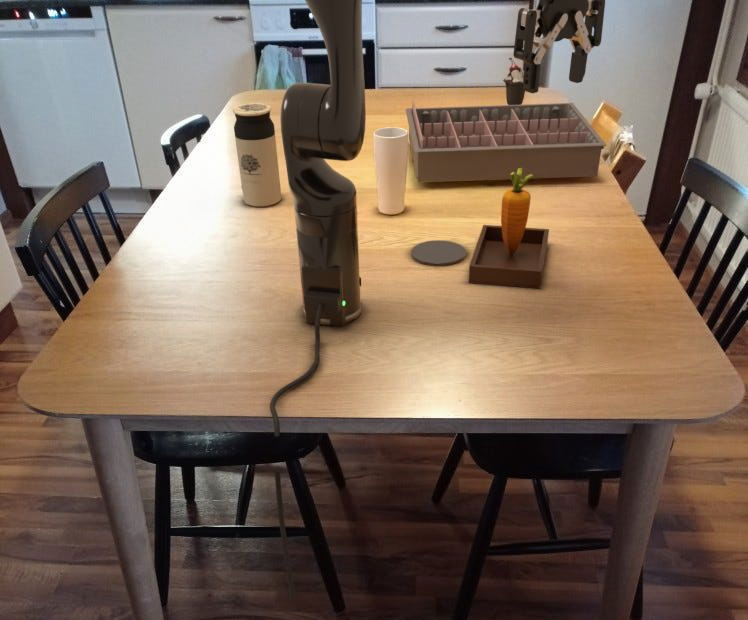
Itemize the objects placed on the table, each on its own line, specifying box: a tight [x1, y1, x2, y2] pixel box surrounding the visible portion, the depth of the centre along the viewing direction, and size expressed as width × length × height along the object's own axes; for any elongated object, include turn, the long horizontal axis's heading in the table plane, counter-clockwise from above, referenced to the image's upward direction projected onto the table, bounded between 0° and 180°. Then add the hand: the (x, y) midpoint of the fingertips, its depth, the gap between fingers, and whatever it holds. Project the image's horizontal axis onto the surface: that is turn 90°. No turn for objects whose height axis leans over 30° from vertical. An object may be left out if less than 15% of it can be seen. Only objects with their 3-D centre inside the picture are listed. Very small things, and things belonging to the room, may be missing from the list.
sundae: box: [502, 57, 526, 105], centre depth 196 cm, size 7×7×15 cm
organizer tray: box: [405, 100, 607, 183], centre depth 175 cm, size 32×40×10 cm
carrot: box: [500, 168, 533, 255], centre depth 134 cm, size 5×5×15 cm
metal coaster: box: [410, 240, 467, 267], centre depth 141 cm, size 10×10×1 cm
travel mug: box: [232, 102, 282, 208], centre depth 158 cm, size 8×8×18 cm
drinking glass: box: [372, 126, 409, 216], centre depth 153 cm, size 7×7×15 cm
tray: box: [468, 224, 550, 289], centre depth 137 cm, size 18×12×3 cm, turn 167°
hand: (553, 86), depth 113 cm, fingers open, 8 cm apart
